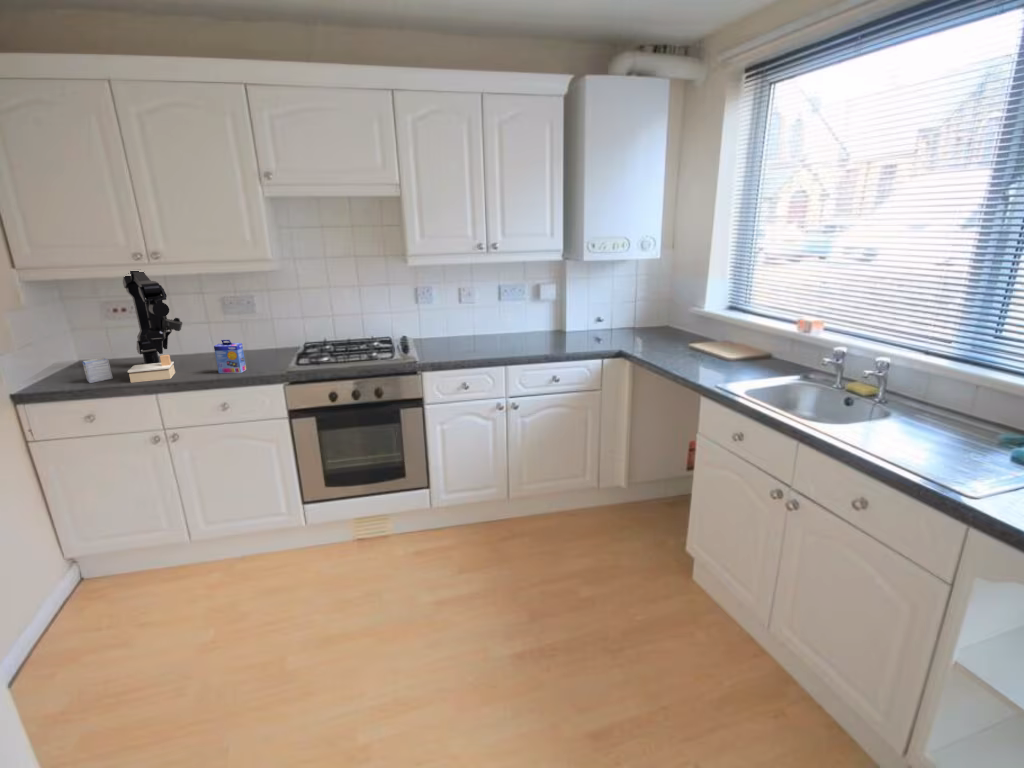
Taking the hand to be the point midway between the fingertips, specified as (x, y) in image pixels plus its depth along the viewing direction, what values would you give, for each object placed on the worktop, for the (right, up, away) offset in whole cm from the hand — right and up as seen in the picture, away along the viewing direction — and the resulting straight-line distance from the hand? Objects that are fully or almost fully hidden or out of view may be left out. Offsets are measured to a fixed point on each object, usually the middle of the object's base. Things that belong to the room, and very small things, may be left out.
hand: (163, 351), depth 223 cm
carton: (-5, -11, +1) cm, 12 cm away
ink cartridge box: (+24, -8, +8) cm, 27 cm away
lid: (-5, -7, 0) cm, 8 cm away
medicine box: (-25, -12, -1) cm, 28 cm away
